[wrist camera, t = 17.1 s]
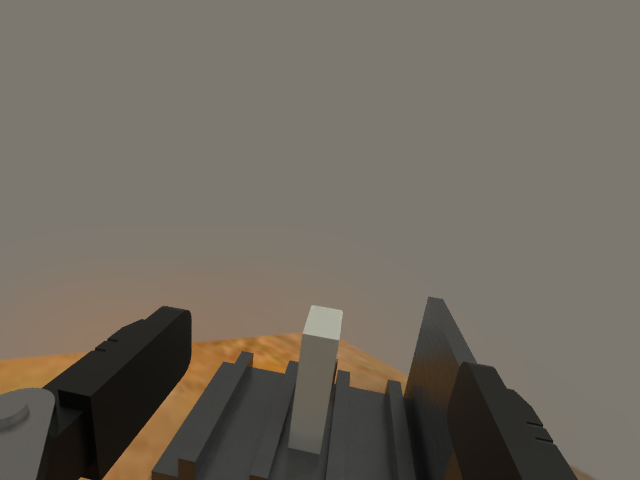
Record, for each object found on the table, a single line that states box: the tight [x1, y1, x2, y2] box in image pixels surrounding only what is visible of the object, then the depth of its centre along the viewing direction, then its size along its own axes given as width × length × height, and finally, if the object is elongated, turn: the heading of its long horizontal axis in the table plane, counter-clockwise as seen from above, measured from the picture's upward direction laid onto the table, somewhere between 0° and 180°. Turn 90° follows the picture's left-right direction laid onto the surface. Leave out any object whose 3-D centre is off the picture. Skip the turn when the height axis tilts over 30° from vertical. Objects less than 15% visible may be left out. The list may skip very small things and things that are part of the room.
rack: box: [152, 297, 477, 480], centre depth 30 cm, size 23×15×14 cm, turn 82°
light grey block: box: [288, 305, 343, 454], centre depth 30 cm, size 3×5×12 cm, turn 173°
